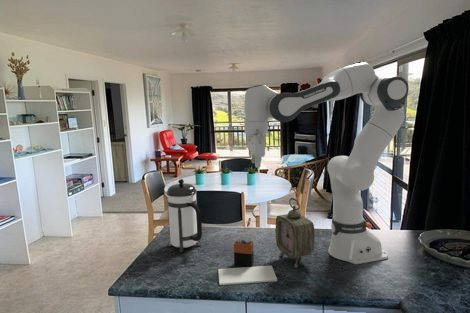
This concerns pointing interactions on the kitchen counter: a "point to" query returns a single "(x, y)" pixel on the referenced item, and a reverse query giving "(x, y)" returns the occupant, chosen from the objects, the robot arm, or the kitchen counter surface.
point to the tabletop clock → (294, 234)
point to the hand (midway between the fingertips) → (255, 165)
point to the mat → (246, 275)
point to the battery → (243, 253)
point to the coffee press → (183, 216)
